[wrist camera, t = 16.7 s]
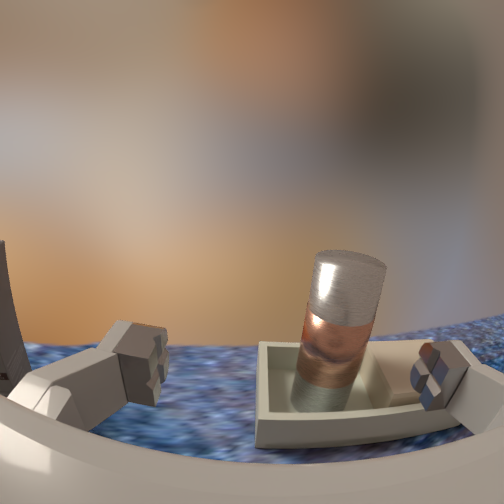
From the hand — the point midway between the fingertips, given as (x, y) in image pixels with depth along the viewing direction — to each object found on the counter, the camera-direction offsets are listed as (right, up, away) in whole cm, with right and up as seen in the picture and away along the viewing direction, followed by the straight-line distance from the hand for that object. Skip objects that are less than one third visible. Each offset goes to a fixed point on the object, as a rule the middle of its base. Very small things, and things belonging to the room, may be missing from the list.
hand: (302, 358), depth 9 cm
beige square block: (+14, -11, +17) cm, 25 cm away
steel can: (+5, -11, +17) cm, 21 cm away
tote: (+9, -12, +18) cm, 23 cm away
